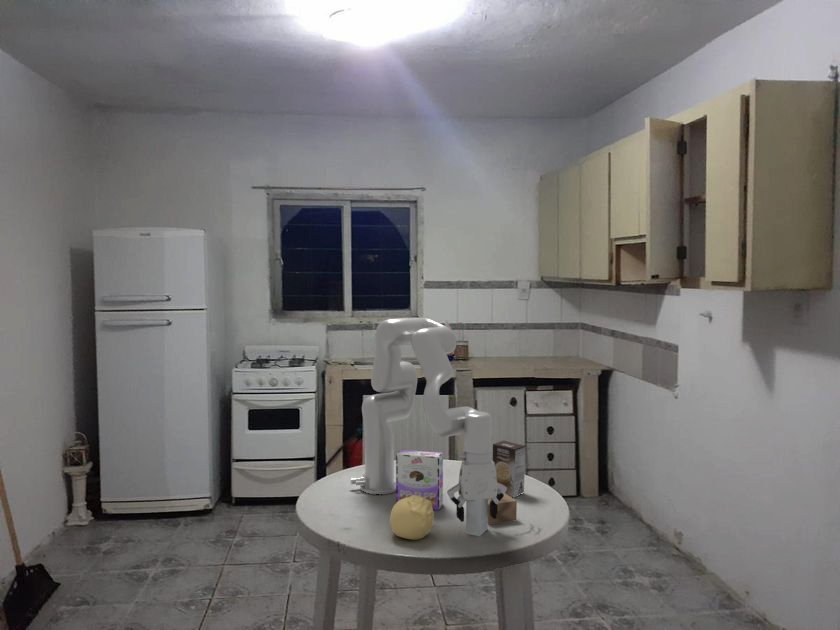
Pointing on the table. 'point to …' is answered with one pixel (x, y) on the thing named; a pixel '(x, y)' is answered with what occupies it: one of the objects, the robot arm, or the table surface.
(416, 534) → the pale yellow round lump
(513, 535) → the table surface
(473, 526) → the skincare box
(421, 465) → the candy box
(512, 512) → the brown cardboard box
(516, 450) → the coffee box
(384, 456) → the robot arm
